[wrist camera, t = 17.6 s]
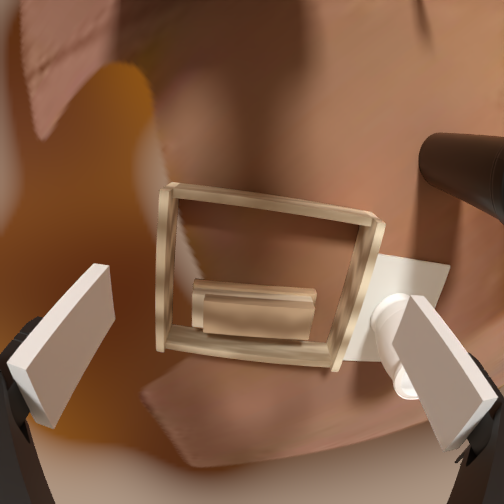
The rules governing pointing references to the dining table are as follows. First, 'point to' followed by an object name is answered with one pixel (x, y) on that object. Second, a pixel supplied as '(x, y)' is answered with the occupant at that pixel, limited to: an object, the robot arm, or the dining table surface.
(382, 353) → the jar
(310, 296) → the offcut stack
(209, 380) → the dining table surface
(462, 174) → the water bottle
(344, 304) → the rack
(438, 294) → the mat
